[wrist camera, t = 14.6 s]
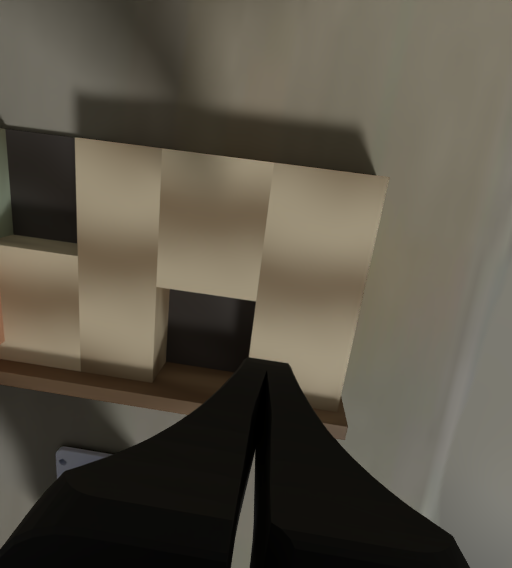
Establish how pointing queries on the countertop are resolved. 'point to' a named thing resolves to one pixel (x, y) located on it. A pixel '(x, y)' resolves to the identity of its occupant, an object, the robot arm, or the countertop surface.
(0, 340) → the block
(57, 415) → the countertop surface
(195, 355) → the cubby shelf
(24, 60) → the countertop surface
